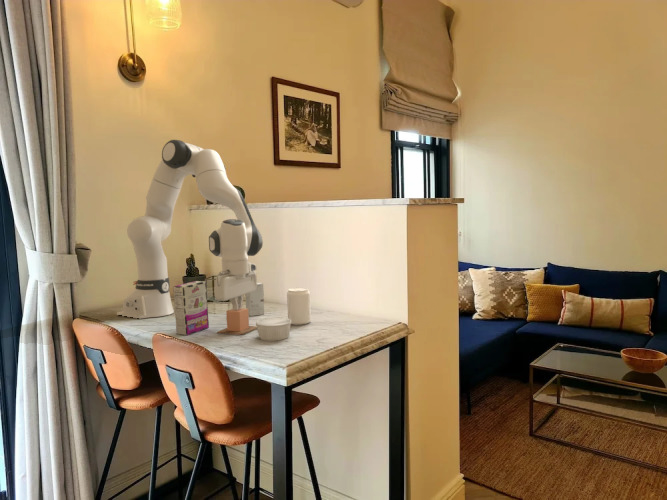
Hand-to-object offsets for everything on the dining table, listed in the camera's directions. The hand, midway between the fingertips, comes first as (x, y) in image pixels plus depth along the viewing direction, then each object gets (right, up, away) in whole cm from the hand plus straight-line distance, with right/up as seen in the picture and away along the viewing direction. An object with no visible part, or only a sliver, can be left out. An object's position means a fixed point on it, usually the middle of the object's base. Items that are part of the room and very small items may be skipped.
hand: (237, 309), depth 172 cm
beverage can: (+20, -6, +10) cm, 23 cm away
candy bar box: (-16, -8, +2) cm, 18 cm away
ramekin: (+13, -8, -9) cm, 18 cm away
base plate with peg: (0, -7, +1) cm, 7 cm away
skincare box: (+2, -5, +26) cm, 26 cm away
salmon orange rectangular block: (0, -7, +1) cm, 7 cm away
